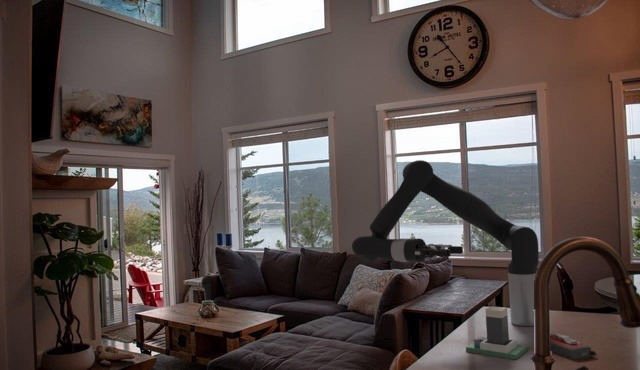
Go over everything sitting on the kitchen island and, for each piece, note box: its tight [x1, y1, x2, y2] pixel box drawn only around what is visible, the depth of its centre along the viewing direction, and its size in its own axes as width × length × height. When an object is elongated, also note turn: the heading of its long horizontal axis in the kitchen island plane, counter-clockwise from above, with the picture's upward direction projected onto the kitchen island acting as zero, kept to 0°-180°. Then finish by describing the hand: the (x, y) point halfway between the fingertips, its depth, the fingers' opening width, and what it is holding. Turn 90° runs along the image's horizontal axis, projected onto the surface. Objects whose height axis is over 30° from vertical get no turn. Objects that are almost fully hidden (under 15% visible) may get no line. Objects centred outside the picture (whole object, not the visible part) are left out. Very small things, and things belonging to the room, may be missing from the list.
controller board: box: [465, 336, 529, 360], centre depth 140 cm, size 10×14×4 cm
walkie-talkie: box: [549, 333, 597, 360], centre depth 140 cm, size 9×4×20 cm
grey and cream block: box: [484, 306, 510, 345], centre depth 139 cm, size 4×4×11 cm
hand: (456, 251), depth 147 cm, fingers open, 8 cm apart
